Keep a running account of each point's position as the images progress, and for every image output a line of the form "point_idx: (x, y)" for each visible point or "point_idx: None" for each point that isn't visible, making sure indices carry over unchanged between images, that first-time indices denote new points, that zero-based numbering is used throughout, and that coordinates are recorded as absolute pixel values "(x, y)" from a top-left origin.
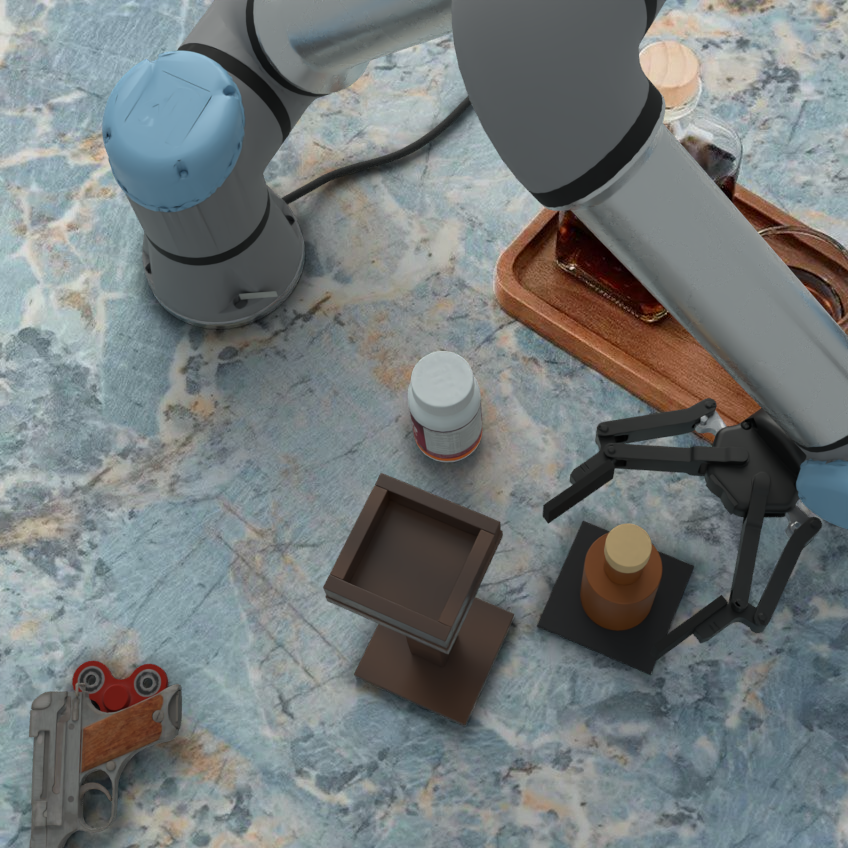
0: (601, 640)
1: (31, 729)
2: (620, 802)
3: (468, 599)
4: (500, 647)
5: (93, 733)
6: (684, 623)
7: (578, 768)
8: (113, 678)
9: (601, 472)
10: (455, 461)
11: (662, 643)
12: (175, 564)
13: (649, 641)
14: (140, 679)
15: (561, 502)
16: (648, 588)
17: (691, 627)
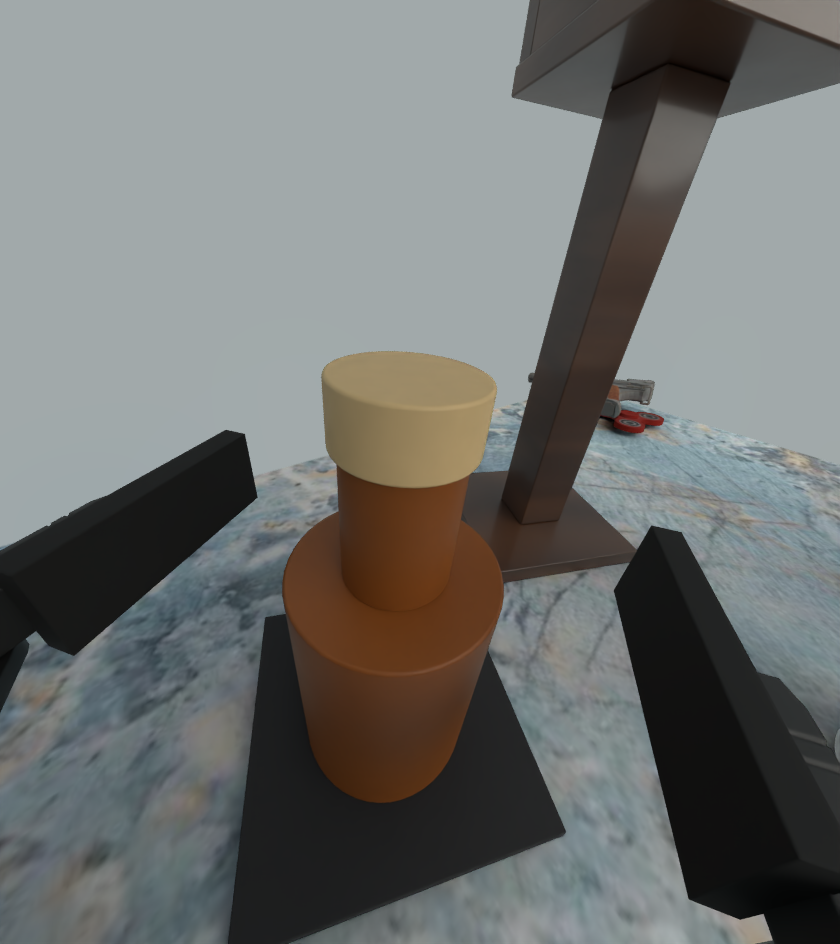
0: None
1: (633, 379)
2: (258, 497)
3: (569, 5)
4: None
5: (612, 386)
6: (171, 477)
7: (316, 501)
8: (643, 419)
9: (766, 753)
10: (835, 752)
11: (224, 440)
12: (729, 478)
13: (286, 662)
14: (634, 422)
15: (669, 558)
16: (307, 554)
17: (147, 475)
